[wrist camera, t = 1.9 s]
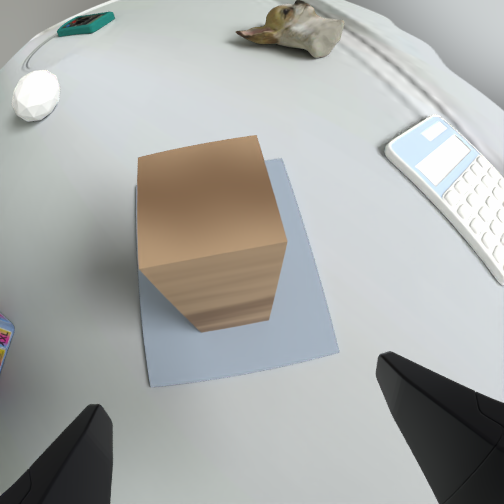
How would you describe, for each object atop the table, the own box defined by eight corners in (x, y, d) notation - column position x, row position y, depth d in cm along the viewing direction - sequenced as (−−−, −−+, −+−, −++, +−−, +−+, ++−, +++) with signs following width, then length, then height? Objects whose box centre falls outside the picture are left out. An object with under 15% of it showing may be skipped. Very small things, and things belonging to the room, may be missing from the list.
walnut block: (268, 320, 22) (287, 241, 10) (201, 332, 22) (138, 269, 10) (255, 257, 24) (256, 135, 12) (191, 269, 24) (138, 157, 12)
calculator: (501, 292, 23) (512, 286, 21) (377, 154, 30) (383, 142, 28) (531, 226, 26) (540, 220, 25) (431, 119, 33) (436, 109, 31)
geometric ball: (64, 120, 37) (69, 89, 30) (17, 138, 32) (14, 108, 25) (53, 85, 35) (58, 53, 29) (9, 101, 31) (7, 69, 24)
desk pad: (338, 352, 21) (339, 352, 21) (151, 387, 20) (150, 387, 20) (281, 160, 28) (282, 158, 28) (137, 186, 27) (136, 184, 27)
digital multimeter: (79, 24, 52) (76, 15, 49) (116, 19, 49) (113, 9, 46) (57, 38, 49) (54, 30, 46) (93, 35, 46) (89, 24, 43)
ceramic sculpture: (329, 18, 27) (229, 1, 31) (323, 74, 35) (234, 49, 39) (358, 5, 31) (271, -13, 35) (351, 51, 38) (272, 29, 43)
